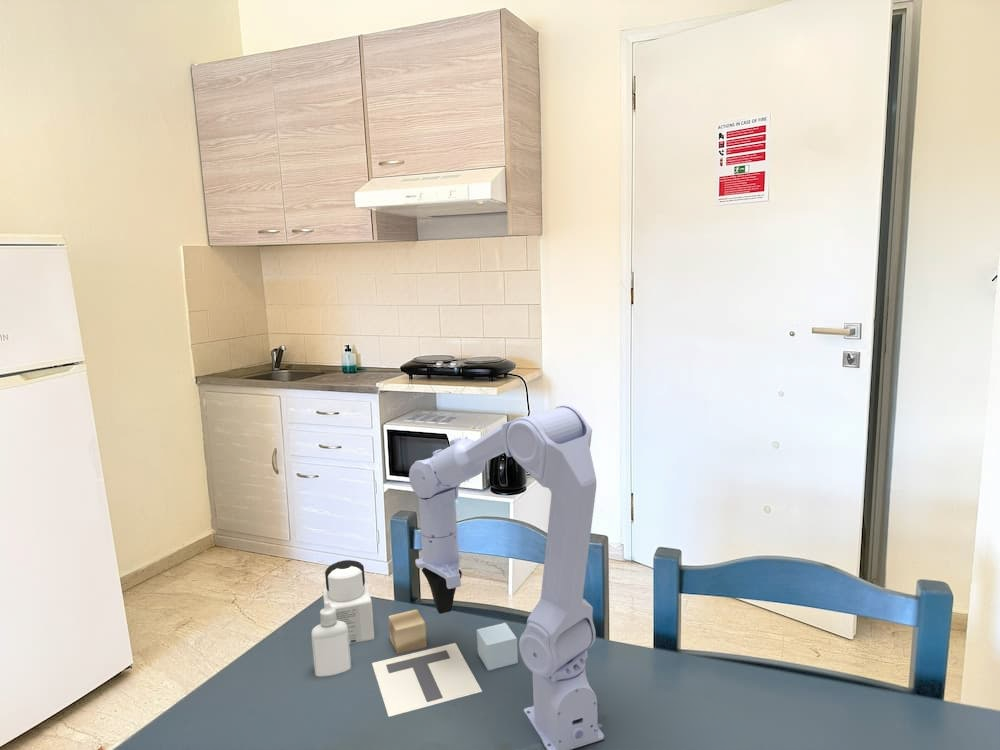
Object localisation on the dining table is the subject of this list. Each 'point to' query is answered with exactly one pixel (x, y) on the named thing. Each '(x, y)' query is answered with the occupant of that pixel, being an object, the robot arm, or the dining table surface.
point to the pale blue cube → (497, 646)
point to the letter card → (424, 679)
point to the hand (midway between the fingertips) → (444, 610)
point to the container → (350, 598)
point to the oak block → (407, 631)
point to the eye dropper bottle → (330, 644)
